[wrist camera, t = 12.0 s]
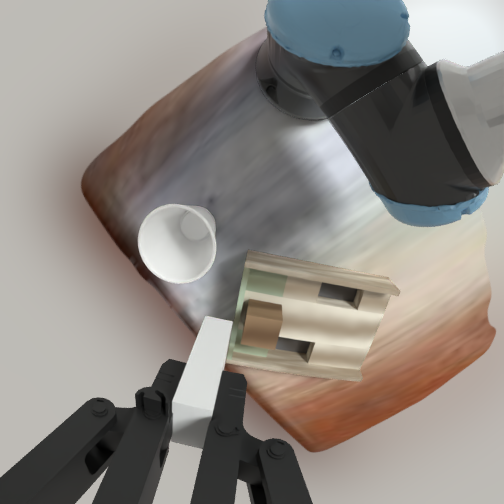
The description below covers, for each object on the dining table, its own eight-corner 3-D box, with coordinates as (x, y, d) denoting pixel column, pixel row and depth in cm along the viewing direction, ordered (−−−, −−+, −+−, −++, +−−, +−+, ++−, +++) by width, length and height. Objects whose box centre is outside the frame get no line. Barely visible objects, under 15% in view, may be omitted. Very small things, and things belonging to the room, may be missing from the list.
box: (248, 249, 46) (245, 261, 41) (388, 277, 46) (400, 291, 41) (229, 343, 52) (225, 362, 47) (354, 362, 52) (361, 381, 47)
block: (249, 298, 46) (246, 314, 41) (281, 304, 46) (282, 321, 41) (243, 326, 47) (240, 343, 42) (274, 331, 47) (274, 350, 42)
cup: (184, 265, 48) (162, 295, 37) (154, 210, 45) (124, 226, 35) (239, 240, 46) (230, 265, 36) (210, 181, 44) (191, 189, 33)
